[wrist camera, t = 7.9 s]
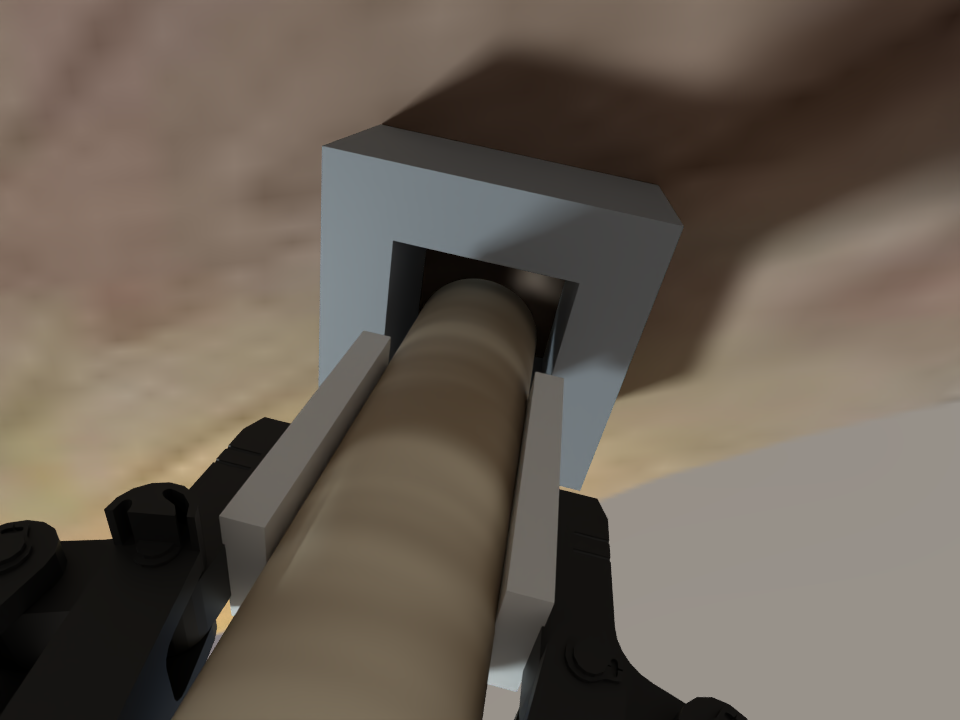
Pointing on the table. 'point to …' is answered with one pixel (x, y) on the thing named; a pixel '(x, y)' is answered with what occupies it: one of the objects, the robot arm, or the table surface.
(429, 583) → the peg
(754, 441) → the table surface
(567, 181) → the socket
